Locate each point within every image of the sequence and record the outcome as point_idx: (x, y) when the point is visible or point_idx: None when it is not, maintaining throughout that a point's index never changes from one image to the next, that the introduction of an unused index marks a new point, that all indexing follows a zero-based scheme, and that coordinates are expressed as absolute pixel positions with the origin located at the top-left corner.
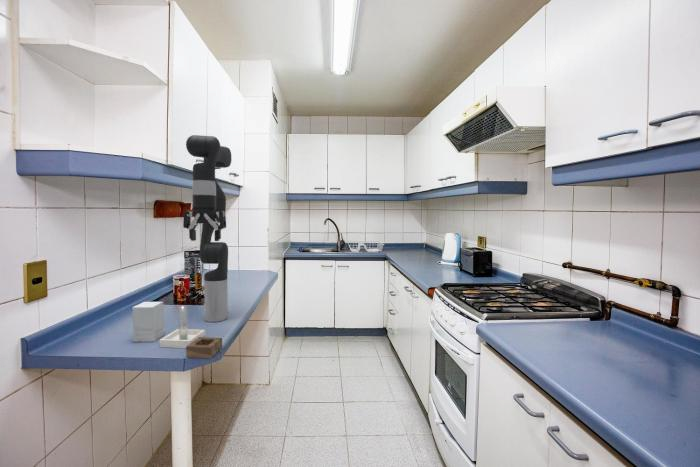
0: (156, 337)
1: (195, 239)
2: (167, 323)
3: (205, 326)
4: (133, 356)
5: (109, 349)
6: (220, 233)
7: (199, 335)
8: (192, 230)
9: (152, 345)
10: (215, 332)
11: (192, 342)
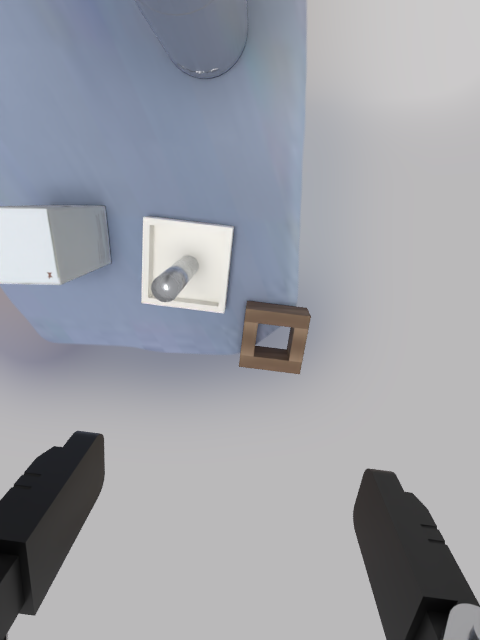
0: (108, 253)
1: (99, 444)
2: (48, 92)
3: (197, 128)
4: (120, 344)
5: (37, 305)
6: (454, 572)
7: (229, 262)
8: (35, 609)
9: (122, 285)
10: (252, 191)
11: (243, 343)
